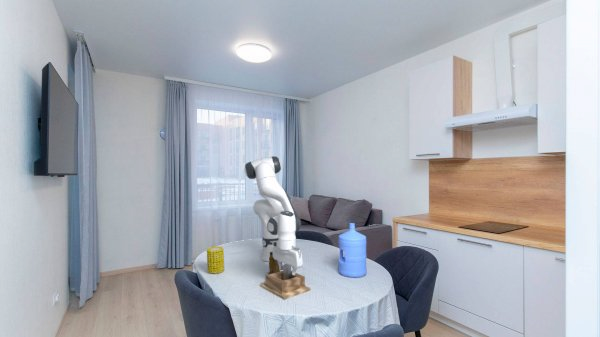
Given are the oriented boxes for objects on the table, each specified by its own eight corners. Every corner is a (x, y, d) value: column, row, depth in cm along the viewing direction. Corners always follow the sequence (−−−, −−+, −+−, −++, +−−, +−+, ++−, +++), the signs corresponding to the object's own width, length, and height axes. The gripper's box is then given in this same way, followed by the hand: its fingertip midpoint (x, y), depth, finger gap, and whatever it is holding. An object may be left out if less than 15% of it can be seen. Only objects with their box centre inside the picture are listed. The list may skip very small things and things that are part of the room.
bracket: (286, 283, 147) (286, 263, 147) (291, 286, 144) (291, 265, 144) (278, 286, 144) (278, 266, 144) (283, 288, 141) (283, 268, 141)
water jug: (369, 270, 168) (368, 222, 169) (363, 279, 154) (362, 227, 155) (343, 267, 175) (342, 220, 175) (335, 275, 161) (334, 225, 161)
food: (226, 271, 172) (218, 278, 162) (208, 266, 174) (199, 272, 165) (231, 247, 171) (223, 252, 161) (213, 242, 173) (204, 247, 163)
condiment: (278, 270, 169) (277, 250, 170) (283, 275, 162) (283, 253, 162) (266, 272, 166) (266, 251, 166) (271, 277, 159) (271, 255, 159)
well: (285, 278, 156) (285, 267, 156) (310, 290, 141) (310, 277, 141) (260, 286, 146) (260, 274, 146) (284, 299, 131) (284, 286, 131)
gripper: (305, 247, 139) (305, 276, 139) (280, 239, 155) (280, 265, 154) (295, 249, 135) (295, 279, 135) (270, 241, 150) (270, 268, 150)
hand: (287, 272), depth 145 cm, fingers open, 8 cm apart
